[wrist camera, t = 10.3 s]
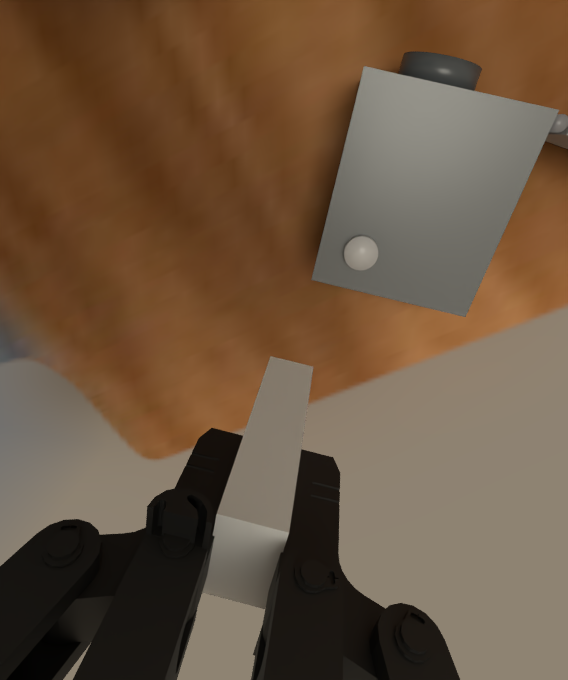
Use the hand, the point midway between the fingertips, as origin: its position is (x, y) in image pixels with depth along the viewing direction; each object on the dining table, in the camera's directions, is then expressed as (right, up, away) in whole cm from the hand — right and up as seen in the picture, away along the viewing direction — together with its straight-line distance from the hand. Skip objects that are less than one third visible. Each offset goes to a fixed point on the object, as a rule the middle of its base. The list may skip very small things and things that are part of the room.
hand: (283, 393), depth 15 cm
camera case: (+10, +15, +21) cm, 28 cm away
